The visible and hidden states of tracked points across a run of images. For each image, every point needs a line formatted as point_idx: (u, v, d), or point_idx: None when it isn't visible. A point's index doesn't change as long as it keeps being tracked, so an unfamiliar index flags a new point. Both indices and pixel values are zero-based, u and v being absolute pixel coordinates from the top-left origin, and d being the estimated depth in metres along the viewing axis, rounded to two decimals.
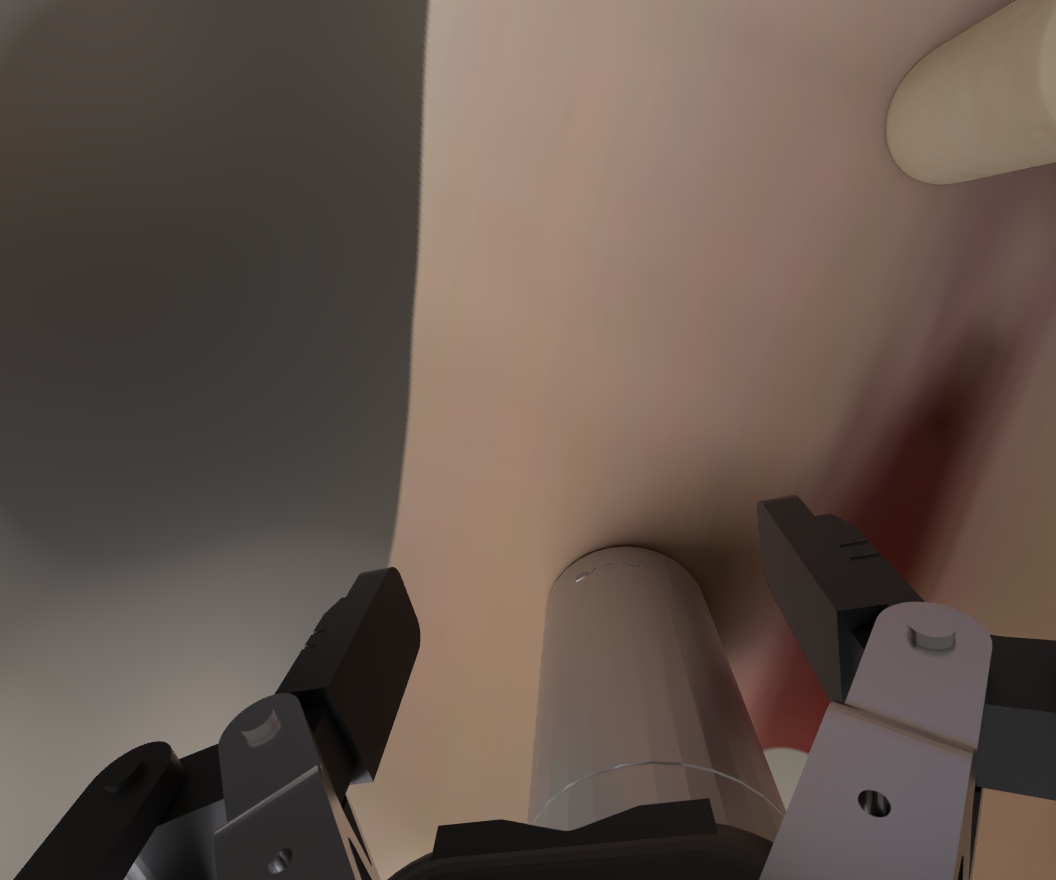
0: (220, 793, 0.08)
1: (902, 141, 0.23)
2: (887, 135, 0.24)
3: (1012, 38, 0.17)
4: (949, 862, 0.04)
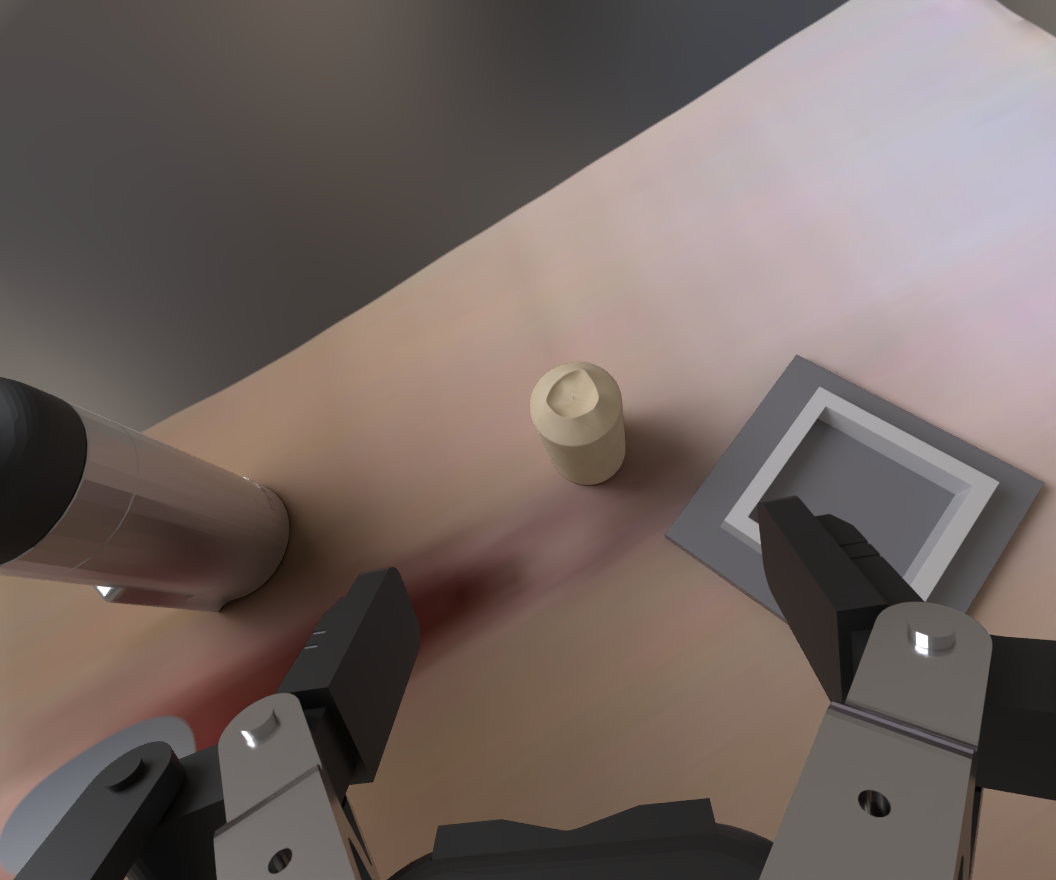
0: (220, 793, 0.08)
1: None
2: None
3: None
4: (950, 863, 0.04)
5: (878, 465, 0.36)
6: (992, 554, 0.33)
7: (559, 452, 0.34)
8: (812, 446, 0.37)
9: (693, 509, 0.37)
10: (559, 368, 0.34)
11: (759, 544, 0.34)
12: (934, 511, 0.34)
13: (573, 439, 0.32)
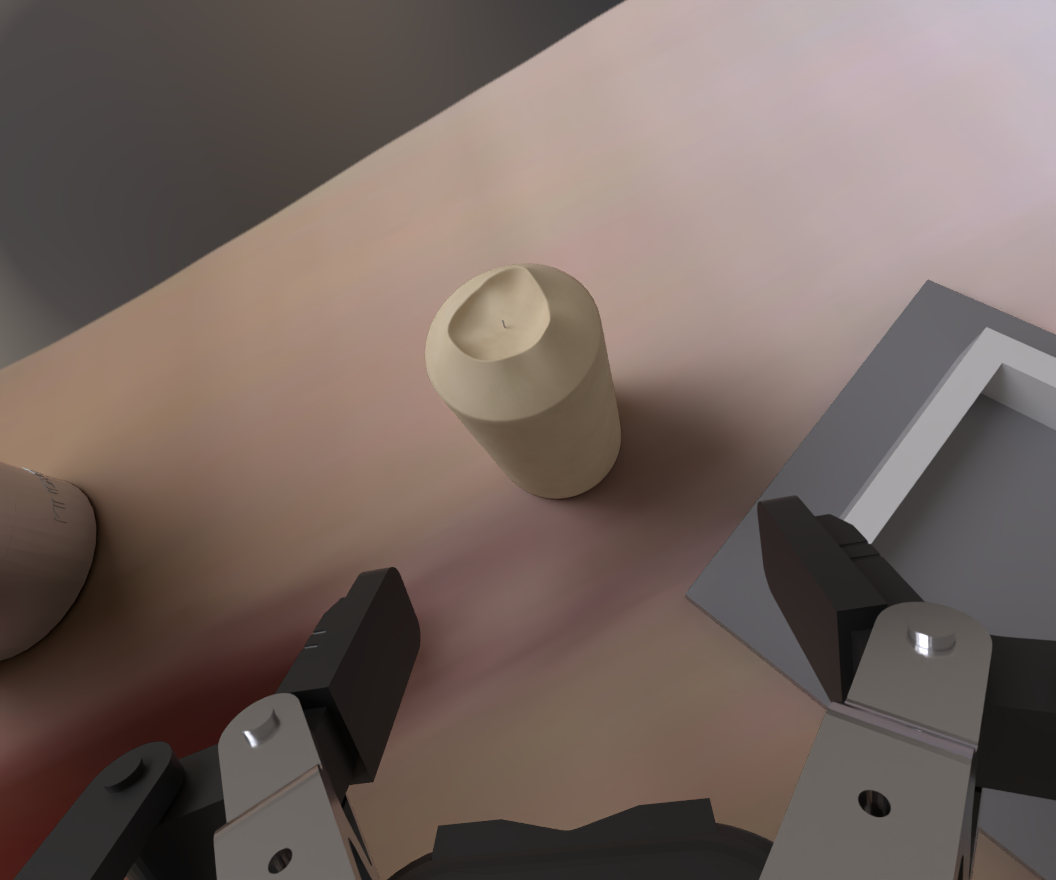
0: (220, 793, 0.08)
1: None
2: None
3: None
4: (949, 862, 0.04)
5: None
6: None
7: (482, 436, 0.18)
8: (966, 440, 0.20)
9: (739, 550, 0.20)
10: (484, 273, 0.17)
11: None
12: None
13: (498, 407, 0.16)
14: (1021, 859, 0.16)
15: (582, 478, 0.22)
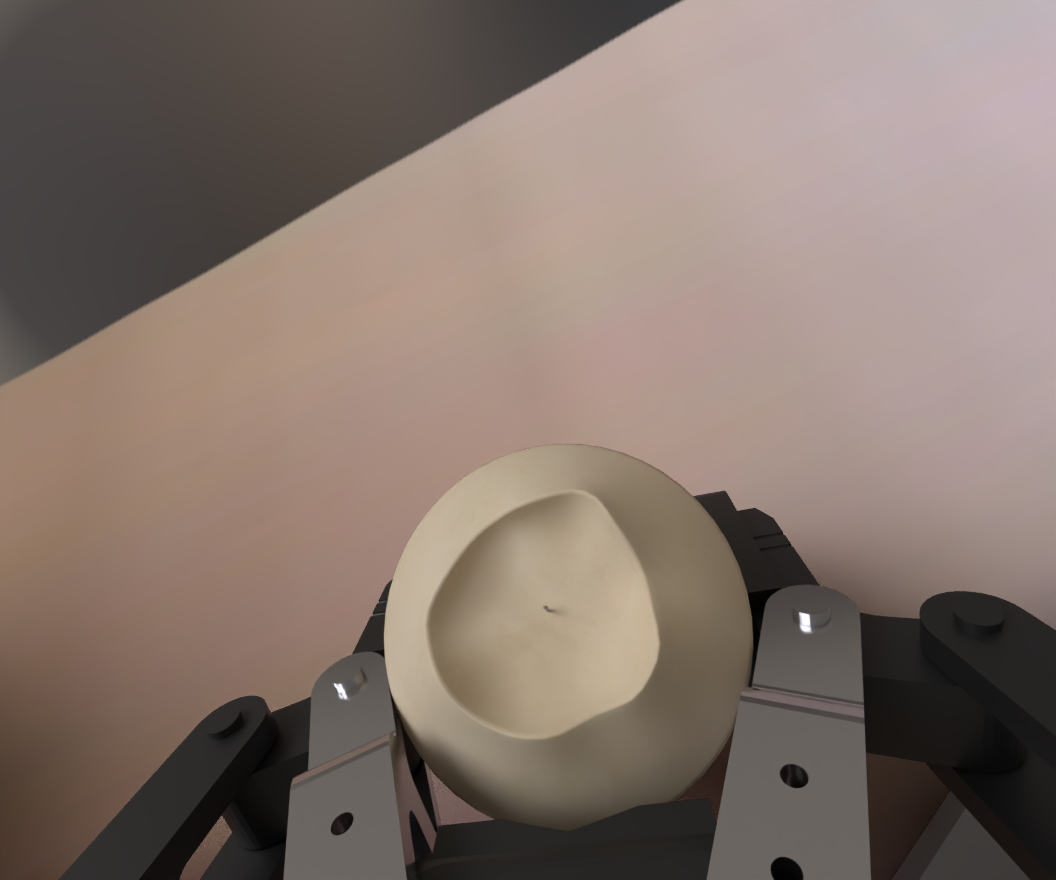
0: None
1: None
2: None
3: None
4: (863, 815, 0.05)
5: None
6: None
7: None
8: None
9: None
10: (505, 468, 0.09)
11: None
12: None
13: (533, 811, 0.07)
14: None
15: None
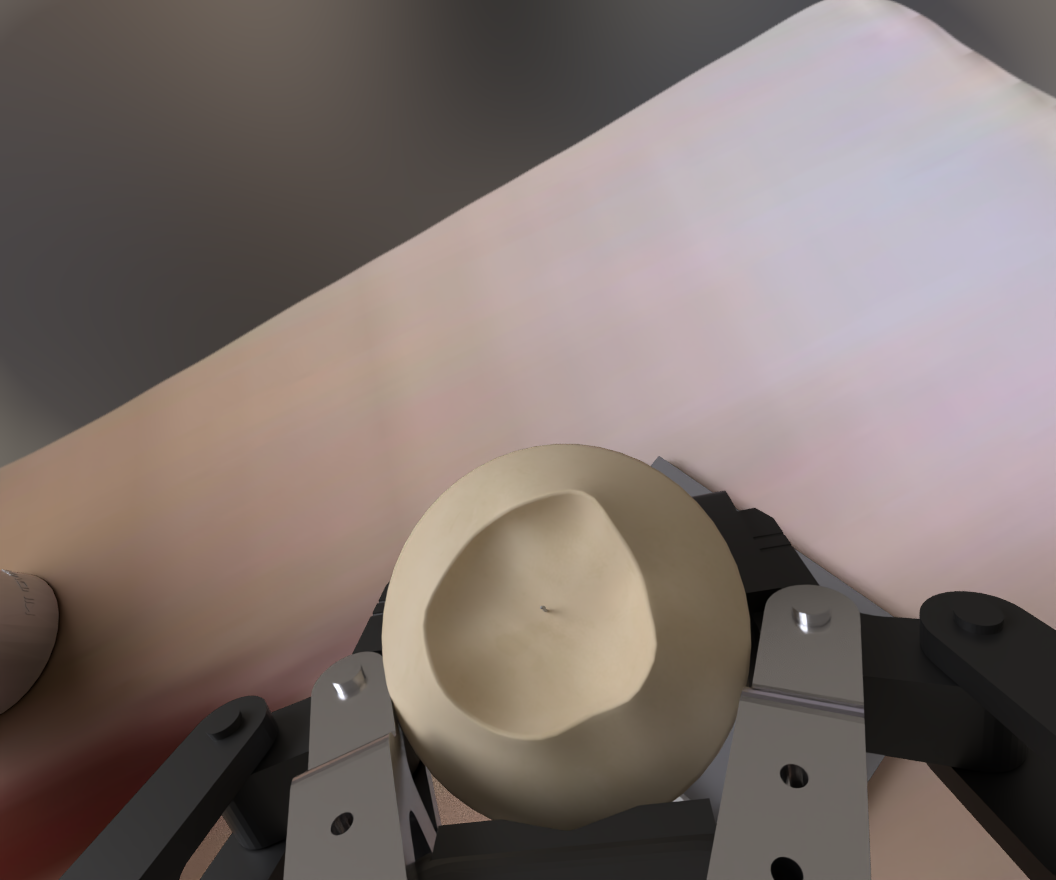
0: None
1: None
2: None
3: None
4: (863, 816, 0.05)
5: None
6: (874, 754, 0.24)
7: None
8: None
9: None
10: (503, 468, 0.09)
11: None
12: None
13: (531, 811, 0.07)
14: None
15: None
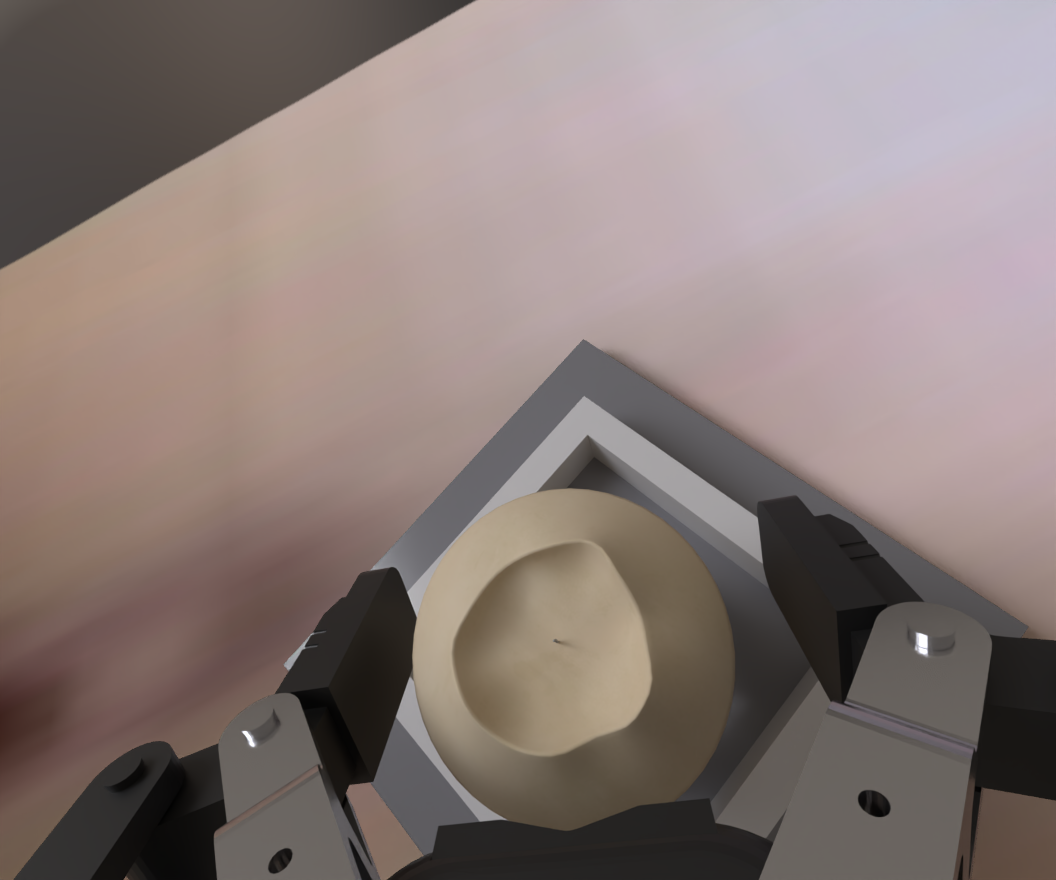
0: (220, 793, 0.08)
1: None
2: None
3: None
4: (949, 862, 0.04)
5: None
6: None
7: None
8: None
9: None
10: (522, 511, 0.10)
11: (400, 719, 0.16)
12: (784, 670, 0.16)
13: (541, 814, 0.08)
14: None
15: None
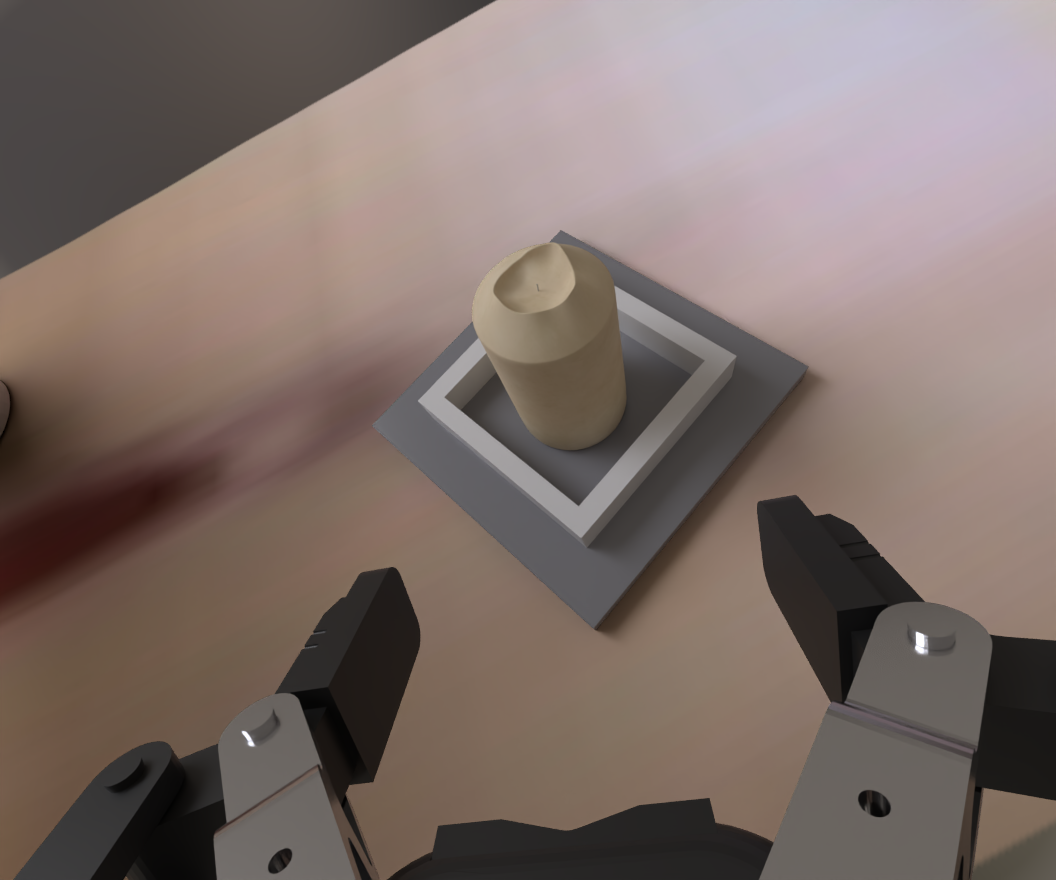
0: (220, 793, 0.08)
1: None
2: None
3: None
4: (950, 863, 0.04)
5: None
6: (730, 449, 0.26)
7: (513, 380, 0.22)
8: None
9: (409, 398, 0.31)
10: (524, 248, 0.22)
11: (450, 428, 0.28)
12: None
13: (529, 351, 0.20)
14: (516, 557, 0.26)
15: (591, 430, 0.26)
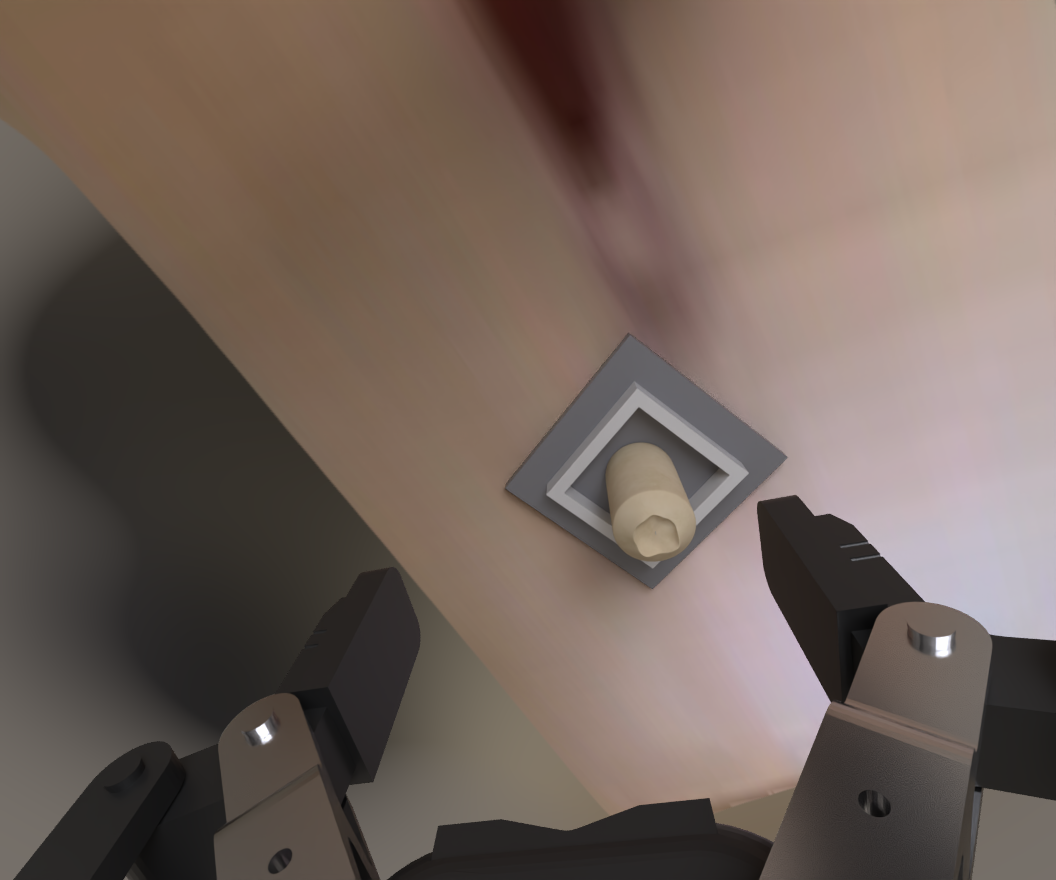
0: (220, 793, 0.08)
1: (659, 451, 0.43)
2: None
3: (689, 502, 0.38)
4: (949, 862, 0.04)
5: None
6: (604, 552, 0.48)
7: (615, 497, 0.38)
8: (697, 457, 0.44)
9: (650, 360, 0.42)
10: (689, 520, 0.36)
11: (615, 412, 0.42)
12: None
13: (617, 526, 0.37)
14: (539, 446, 0.45)
15: None
